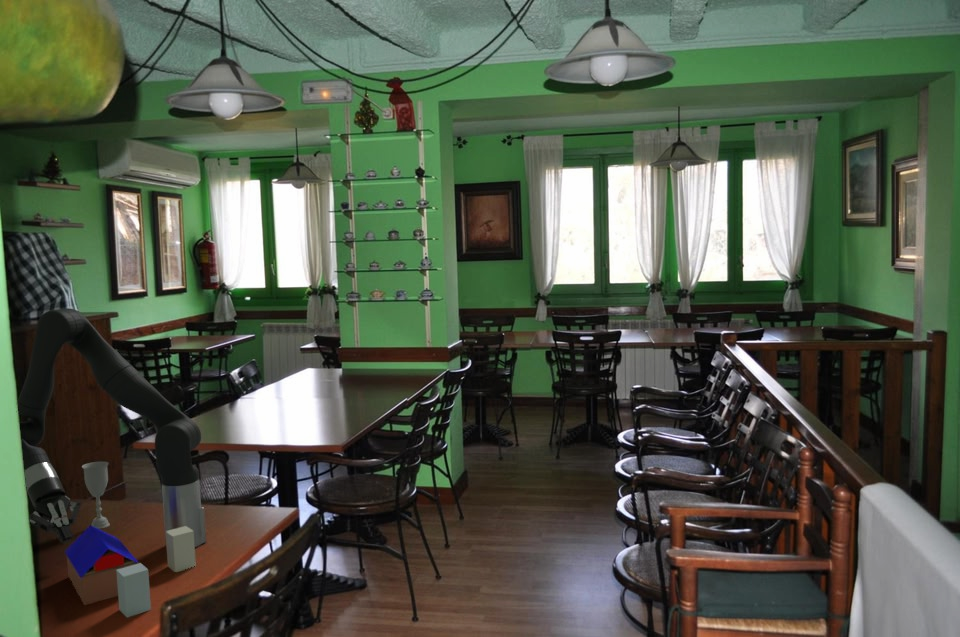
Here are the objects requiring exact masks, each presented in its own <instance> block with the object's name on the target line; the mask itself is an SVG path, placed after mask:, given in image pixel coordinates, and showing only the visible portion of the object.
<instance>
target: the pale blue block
mask: <svg viewBox="0 0 960 637" xmlns="http://www.w3.org/2000/svg"><path fill="white" fill-rule="evenodd" d="M116 572H117V585H118V596H117V597H118V608H119V612H121V613H122V614H123V615H124V617H126V618H130V617H134V616H136V615H139V614H142V613H145V612H149V611H152V604H151V603H152V602H151V592H150V577H149V575H150V574H149V569H148V568H147V567H146V566H145V565H144V564H142V563H141V562H138V563H137V564H135V565H132V566H128V567H125V568H121V569H118V570H116Z"/></svg>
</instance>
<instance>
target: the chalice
mask: <svg viewBox="0 0 960 637" xmlns="http://www.w3.org/2000/svg"><path fill="white" fill-rule="evenodd" d="M109 464H110V463H109V462H108V461H94V462H92V461H91V462H89V463H85V464H82V466H81V468H82V469H83V476H84V484H85V486H86V489H87V490H88V491H89V494H90V495H91V496H92V497H94V498H95V500H96V501H95V505H96V509H95V512H96V513H97V515H96V517H95V518H93V520H92V523H91V526H93V527H95V528H97V529H99V530H102V529H104V528H107V527H110V525H111V524H110V522H109V520H108V518H107V517H106V516H103V515H102V510H103V508H102V507H101V504H102V502H101V499H100V498H101V496H103V495H104V493H105V491H106V489H107V485H108V482H109V473H108V466H109Z"/></svg>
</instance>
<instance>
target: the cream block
mask: <svg viewBox="0 0 960 637" xmlns="http://www.w3.org/2000/svg"><path fill="white" fill-rule="evenodd" d="M165 532H166V536H165V547H166V546H167V548H166V557H167V558H166V559H167V567H168V568H169V569H170V570H171V571H173V572H174V573H175V572H176V573H178V572H182V571H185V569H186V570H189V569H192V568H195V567H196V566H197V564H196V562H197V561H196V549H195V548H196V547H195V545H194V531H193V530H191V529H190V528H188V527H187V526H184V527H180V528H176V529H172V530H169V531H165V530H164V533H165ZM194 566H195V567H194ZM191 567H192V568H191ZM188 568H189V569H188Z"/></svg>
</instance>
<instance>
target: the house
mask: <svg viewBox="0 0 960 637" xmlns="http://www.w3.org/2000/svg"><path fill="white" fill-rule="evenodd" d="M91 525H92V524H91ZM91 525H89V526H88V527H87V528H86V529H85V530H84V531H83V532H82V533H81V535H79V536H78V537H77V538H76V539H75V541H73V543H72V544H71V545H69V547H68V548H67V549H65V551H64V554H65V555H66V561H67V562H66V563H67V574H68V579H69V578H70V579H69V581H70V580H71V581H72V583H73V584H72V583H71V584H72V586H73V585H74V586H73V588H74V587H75V588H74V589H76V590H75V591H76V593H77V595H78V597H79V596H80V597H79V599H80V598H81V599H80V600H81V602H82V604H83V605H84V606H87V605H91V604H94V603H97V602H100V601H104V600H109V599H112V598H116V597H118V585H117V572H116V570H118V569H121V568H125V567H128V566H132V565H135V564H139V562H138V560H137V559H136V558H135V557H134V556H133V554H132V553H131V551H130V550H129V549H128V548H127V547H126V546H125V545H124V544H123V542H122V541H121V540H120V539H119V538H117V537H116V536H114V535H112V534H110V533H107V532H105V531H104V530H102V529H97V528H95V527H93V526H91ZM71 581H70V582H71Z"/></svg>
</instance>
